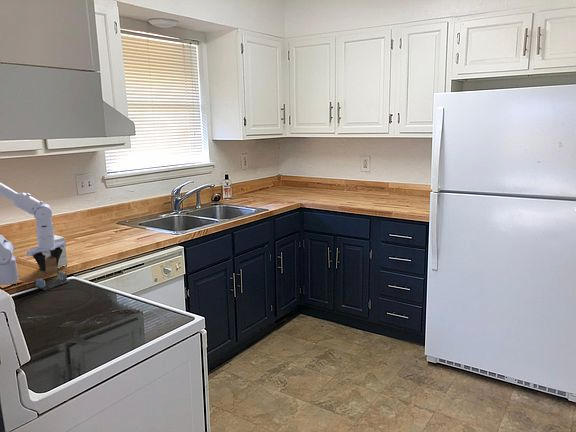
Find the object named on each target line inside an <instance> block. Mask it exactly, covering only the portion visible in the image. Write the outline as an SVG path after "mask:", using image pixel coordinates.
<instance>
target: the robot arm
mask: <svg viewBox="0 0 576 432" xmlns="http://www.w3.org/2000/svg"><path fill="white" fill-rule="evenodd" d="M0 195H1V196H3V197H5V198H6V199H8V200H11V201H12V202H13V206H14V207H16V208H18V209H20V210H22V211H24V212H25V213H28V214H29V215H32V216H33V217H34V220H35V222H36V223H35V229H36V237H37V246H35V247H34V248H33V247H32V248H31V249H28V250H27V249H26V256H28V257H33V258H34V260H35V262H36V263H37V265H38V267H39V270H40V272H41V271H45V255H43V254H42V253H43V252H46V251H50V253H51V256H54V257H56V262H57V267H58V262H59V258H60V255H61V253H62V252H63V251H62V249H60V248H61V247H67V243H66V241H65V242H64V241H61V242H56V243H55V240H54V235H55V232H54V223H53V217H52V216H53V214H52V213H53V208H52V206H51V205H49V204H48V203H47V202H44V201H42V200H38V199H36V198H35V197H33V196H31V195H32V194H31V193H29V192H27V193H25V192H17V191H15V190H14V189H13V188H11V187H9V186H7V185H5V184H4V183H2V182H0ZM14 252H15V246H14V244H13V243H12V242H11V241H9V240H7V239H6V238H5V236H4V235H2V234H0V285H8V284H12V283H15V282H17V281H18V279H19V275H18V274H19V273H18V266H17V259H16V257H15V256H14V255H13V254H14Z"/></svg>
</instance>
